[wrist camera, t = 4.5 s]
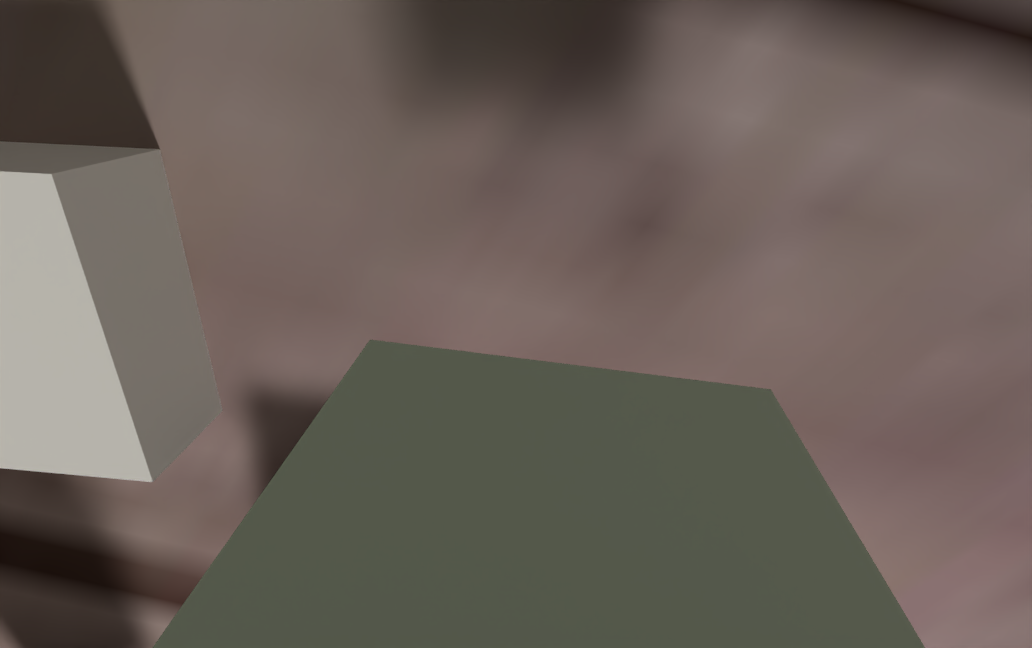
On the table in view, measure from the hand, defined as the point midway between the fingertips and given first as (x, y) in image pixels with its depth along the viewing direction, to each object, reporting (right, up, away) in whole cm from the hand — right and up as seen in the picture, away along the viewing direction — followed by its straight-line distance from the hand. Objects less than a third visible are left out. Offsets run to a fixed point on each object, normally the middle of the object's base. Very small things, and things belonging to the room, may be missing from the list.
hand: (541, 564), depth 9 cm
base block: (-15, +5, +10) cm, 19 cm away
